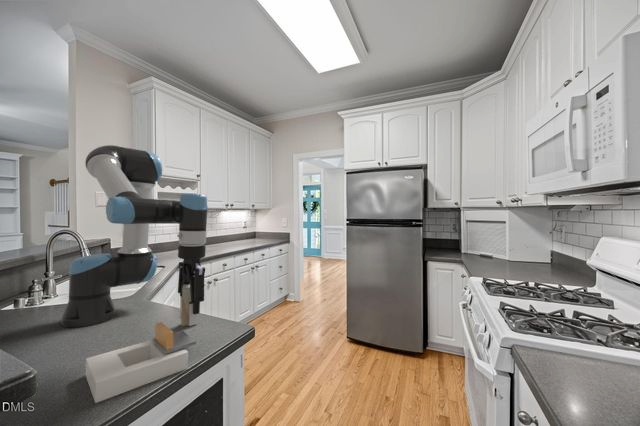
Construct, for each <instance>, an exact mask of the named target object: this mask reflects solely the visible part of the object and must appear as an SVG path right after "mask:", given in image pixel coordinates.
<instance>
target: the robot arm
mask: <svg viewBox="0 0 640 426" xmlns="http://www.w3.org/2000/svg"><path fill="white" fill-rule="evenodd" d="M85 169H86V171H87V172H88V173H89V174H90V175H91V176H92V177H94V179H96V180H97V182H98V183H99V185H100V187H101V189H102V190H103V192H104V194H105V196H106V198H108V200H107V201H106V204H105V205H106V206H105V215H106V219H107V221H108V222H110V223H111V224H118V225H121V224H122V225H123V228H122V229H123V231H122V245H121V248H119V249H118V250H117V251H116V254H117V255H116V256H113V255H112V254H111V253H107V252H106V253H96V254H89V255H85V256H80V257H77V258H75V259H72V260H71V262H70V264H69V265H70V266H69V271H68V275H69V281H68V282H69V283H68V302H67V304H66V306H65V309H64V311H63V314H62V315H61V319H60V326H62V327H64V328H80V327H87V326H92V325H97V324H101V323H105V322H108V321H110V320H112V319H113V318H115V317H116V308H115V304H114V302H113V299H112V297H111V288H115V287H123V286H127V285H128V286H129V285H135V284H136V285H137V284H142V283H146V282H149V281H151V280H152V279H153V278H154V276H155V274H156V271H157V269H158V267H157V266H158V258H157V256H156V254H155V253H153V250H152V249H151V247H149V229H150V224H151V225H152V224H153V225H155V224H157V225H160V224H161V225H164V224H169V225H172V224H174V225H178V226H179V227H178V234H177V235H176V236H177V237H178V244H179V246H178V248H177V249H178V250H177V251H178V252H177V257H178V258H179V259H180V260H182V261H179V262H178V268H179V269H178V284H177V294H179V297H180V310H179V318H180V320H181V317H182V288H183V285H185V284H190V292H191V302H189V304H190V308H189V326H188V327H191V325H192V326H196V325H199V324H200V317H201V316H200V313H201V312H200V310H201V302H204V301H205V273H206V267H202V266H201V259H203V258H205V257H206V245H205V244H206V243H207V221H208V207H209V206H208V197H207V196H206V195H205V194H202V193H189V192H188V193H182V194H181V195H180V197H179V200H175V199H174V200H172V199H156V198H155V199H154V198H151V195H152V188H154V187H155V186H156V183H157V182H159V181H160V180H161V178H162V175H163V165H162V161H161V159H160V158H159V156H158V155H157V153H153V152H151V151H147V150H142V149H137V148H135V149H134V148H131V147H130V148H128V147H124V146H119V145H111V144H110V145H102V146H98V147H96V148H94V149H93V150H91V151H89V153H88V155H86V158H85Z"/></svg>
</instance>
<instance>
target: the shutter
mask: <svg viewBox="0 0 640 426" xmlns="http://www.w3.org/2000/svg"><path fill="white" fill-rule="evenodd" d="M154 329H155V330H154V331H155V332H154V336H155V337H154V338H152V340H153V343H154V344H155V345H156V346H157V347H158V348H159V349H160V350H161V351H162V352H163V353H164V354H167V353H170V352H173V351H176V350H180V349H183V348H184V349H186V348H188V347H191V346H194V345H197V340H196V339H194V338H193V336H191V335H189V334H188V333H186V332H185V331H184V330H181V331H176V332H174V331H173V330H172V329H170V328H169V327H168V326H167V325H165V324H164V323H163V322H162V321H160V322H156V323H155V328H154Z"/></svg>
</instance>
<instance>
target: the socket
mask: <svg viewBox="0 0 640 426" xmlns="http://www.w3.org/2000/svg"><path fill="white" fill-rule="evenodd" d="M187 369H189V351H188V350H187V349H186V348H183V349H180V350H176V351H173V352H170V353H167V354H164V353H163V352H162V351H161V350H160V349H159V348H158V347H157V346H156V345H155V344H154V343H153V339H151V340H147V341H144V342H141V343H135V344H133V345H132V344H131V345H129V346H126V347H122V348H118V349H114V350H111V351H108V352H104V353H100V354H97V355H93V356H90V357H87V358H85V378H86V381H87V384H88V386H89V390H90V392H91V395H92V398H93V400H94V403H95V404H97V403H99V402H103V401H104V400H108V399H110V398H113V397H115V396H118V395H119V396H120V394H123V393H126V392H128V391H133V390H134V389H137V388H140V387H142V386H144V385H148V384H149V383H153V382H156V381H158V380H160V379H163V378H166V377H169V376H171V375H174V374H177V373H179V372H181V371H182V372H183V371H185V370H187Z"/></svg>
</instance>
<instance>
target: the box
mask: <svg viewBox="0 0 640 426" xmlns="http://www.w3.org/2000/svg"><path fill="white" fill-rule="evenodd" d="M189 302H191V292H190V284H185V285H183V288H182V317H181V319H180V320H181V321H180V322H181V323H180V325H181V327H183V326H185V325H189V308H190V304H189Z"/></svg>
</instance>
